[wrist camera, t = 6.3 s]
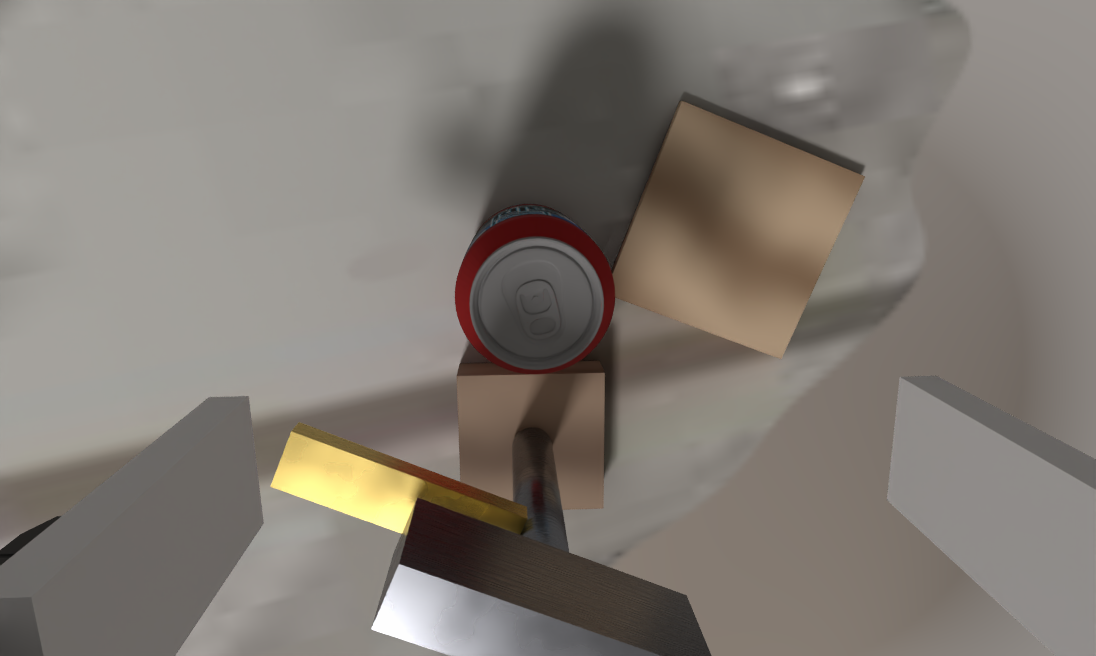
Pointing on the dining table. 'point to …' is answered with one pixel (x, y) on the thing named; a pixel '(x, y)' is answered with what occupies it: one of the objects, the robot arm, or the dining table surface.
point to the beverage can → (534, 291)
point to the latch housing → (533, 401)
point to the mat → (732, 230)
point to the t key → (487, 558)
